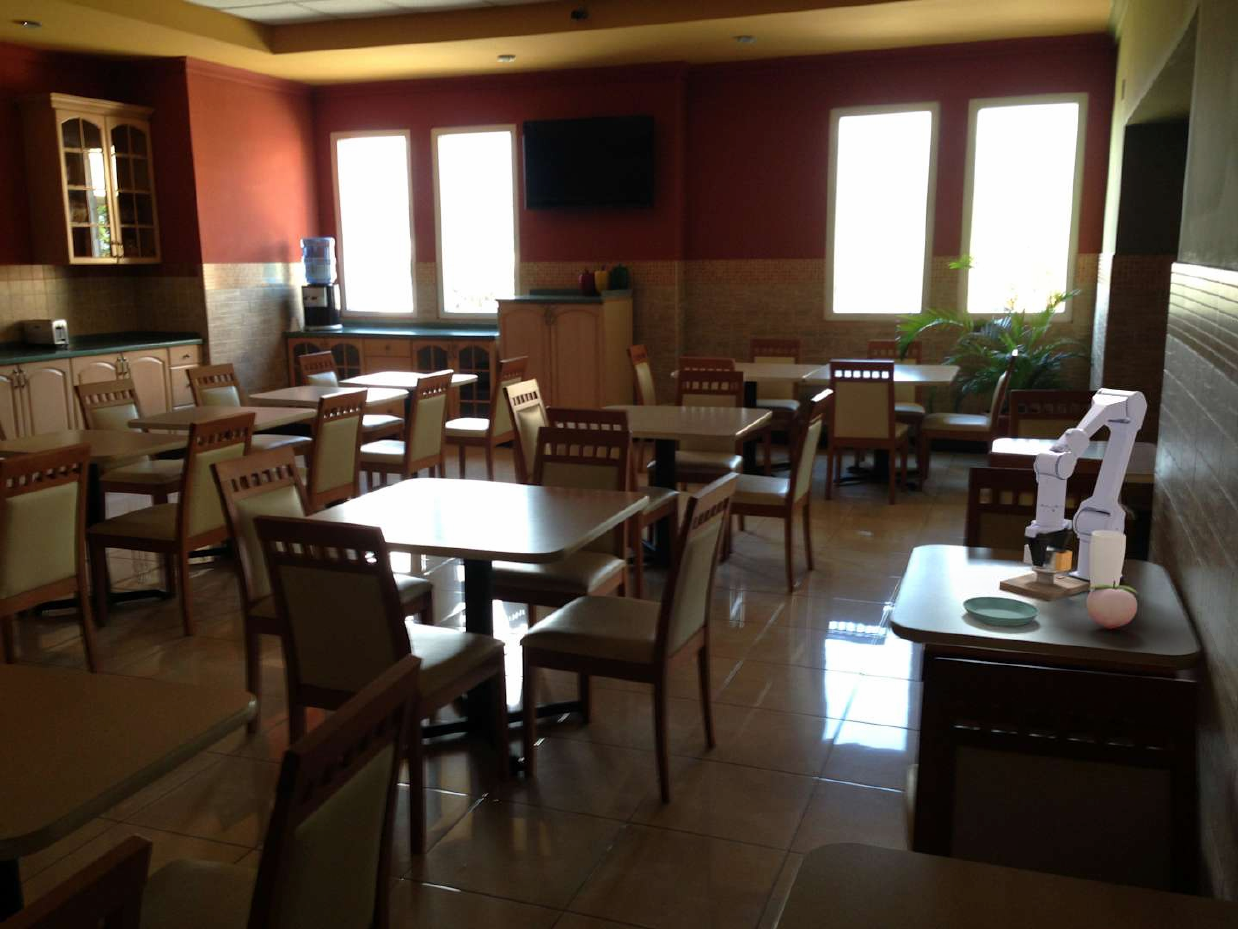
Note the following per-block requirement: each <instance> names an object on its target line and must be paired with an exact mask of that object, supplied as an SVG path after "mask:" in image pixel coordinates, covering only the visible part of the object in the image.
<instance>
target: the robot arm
mask: <svg viewBox="0 0 1238 929" xmlns="http://www.w3.org/2000/svg"><path fill="white" fill-rule="evenodd" d="M1147 407H1148V404H1147V401H1146V397H1145V395H1144V394H1143V392H1141V391H1137V390H1136V391H1129V390H1121V389H1109V388H1104V387H1103V388H1099V389H1098V390H1097V392H1096V393H1095V395H1094V396H1092V398H1091V408H1090V409H1089V410H1088V411H1087V413H1086V414H1085V415H1084V417H1083V418H1082V420H1081V421H1080V422H1079V423H1078V425H1077V426H1076V427H1075V428H1069V429H1066V431H1065V432H1064V433H1063V434H1062V435H1061V436H1060V437H1059V439H1057V441H1056V442H1054V444H1053V445H1052V446H1050V448H1049V449H1048V450H1047V449H1046V450H1043V451H1041V452H1039V453H1038V455H1036V457H1035V461H1034V462H1033V470H1034V472H1035V476H1036V478H1035V480H1036V483H1038V485H1037V488H1038V489H1037V500H1036V511H1035V512H1036V513H1035V514H1036V515H1035V519H1034V520H1032V521H1031V523H1030V524H1031V525H1029V526H1026V527H1025V533H1024V534H1023V536H1024V537H1023V538H1024V540H1025V542H1026V545H1028V546H1029V549H1030V553H1031V558H1032V563H1033V565H1034V566H1038V567H1043V564H1044V560H1045V554H1046V550H1047V547H1048V546H1049V547H1054V548H1058V549H1062V550H1066V547H1067V544H1068V542H1070V539H1071V538H1072V537H1073V531H1074V533H1075V534H1076V535H1077V536H1076V537H1077V538H1078V539H1079V550H1078V560H1077V569H1076V571H1072V572H1069V576H1071V577H1074V578H1079V579H1081V580H1082V579H1083V580H1087V581H1090V545H1091V536H1092V532H1094V531H1100V530H1104V531H1114V532H1119V533H1122V534H1124V530H1125V519H1126V518H1125V517H1126V514H1127V513H1126V512H1125V510H1124V509H1123V508H1122V507H1121V505H1120V504H1119V503H1118V499H1119V495H1120V492H1121V489H1122V486H1123V483H1124V482H1123V481H1124V479H1125V475H1126V471H1127V469H1128V464H1129V461H1130V456H1131V455H1132V450H1133V448H1134V443H1135V441H1136V440H1135V439H1136V436H1137V432H1138V431H1139V430H1142V426H1143V421H1144V419H1145V415H1146V412H1147V409H1148V408H1147ZM1103 426H1107V427H1108V429H1109V430H1110V436H1109V439H1108V443H1107V446H1106V449H1105V453H1104V456H1103V460H1102V463H1101V466H1100V470H1099V473H1098V476H1097V479H1096V484H1095V487H1094V491H1093V494H1092V496H1091V497H1088V498H1087V499H1085V500H1083V501H1081V503H1080V505H1079V508H1078V509H1077V512H1076V513H1075V514H1074V515H1073V520H1072V519H1071V520H1070V519H1066V518H1065V506H1066V493H1067V483H1068V482H1067V481H1068V478H1070V477H1071V476H1072V474H1073V472H1074V470H1075V466H1076V465H1077V462H1078V461H1077V460H1078V459H1079V458H1080V457H1081V455H1082V454H1083V453H1084V452H1085V451H1086V450H1087V449H1088V447H1090V444H1091V443H1090V437H1092V436H1093V435H1094V434H1095V433H1096V432H1097V431H1098V430H1099V429H1101V428H1102V427H1103ZM1108 513H1109V514H1108ZM1072 529H1073V531H1071V530H1072ZM1045 534H1046V536H1047V537H1046V536H1045ZM1122 577H1123V574H1121V576H1120V578H1122Z"/></svg>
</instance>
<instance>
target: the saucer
mask: <svg viewBox="0 0 1238 929" xmlns="http://www.w3.org/2000/svg"><path fill="white" fill-rule="evenodd" d="M962 606H963V608H964V610H966V612H967V613H968V615H969V616H970V617H971V618H972V619H974V620H976V621H978V622H980V623H983V624H987V625H991V626H996V627H1007V626H1013V627H1020V626H1024V625H1027V624H1028V623H1031V621H1033V620H1035V618H1036V617H1037V616H1038V615H1039V613H1040V610H1039V608H1038V607H1037V606H1035V605H1033V604H1031V603H1029V602H1026V601H1023V600H1020V599H1019V600H1018V599H1013V598H1008V597H1000V596H978V597H977V596H975V597H971V598H968V599H965V600H964V601H963V603H962Z"/></svg>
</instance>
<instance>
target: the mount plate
mask: <svg viewBox="0 0 1238 929" xmlns="http://www.w3.org/2000/svg"><path fill="white" fill-rule="evenodd" d="M1089 588H1090V582H1088V581H1084V580H1082V579H1081V580H1080V579H1077V578H1072V577H1068V576H1064V575H1060V574H1041V573H1037V572H1032V573H1027V574H1023V575H1021V576H1016V577H1013V578H1009V579H1005V580H1002V581H999V588H998V589H1001V590H1005V591H1009V592H1012V593H1016V594H1018V595H1023V596H1026V597H1031V598H1033V599H1037V600H1041V601H1045V602H1050V601H1053V600H1054V601H1055V600H1057V599H1061V598H1064V597H1067V596H1071V595H1074V594H1077V593H1081V592H1084V591H1089V590H1088V589H1089Z"/></svg>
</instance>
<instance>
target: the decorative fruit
mask: <svg viewBox="0 0 1238 929" xmlns="http://www.w3.org/2000/svg"><path fill="white" fill-rule="evenodd" d="M1091 589H1093V590H1092V591H1091V592H1090V590H1091ZM1087 591H1089V593H1088V595H1087V598H1086V609H1087V612H1088V614H1089V615H1090V617H1091V618H1092V619H1093V620H1094V621H1095V622H1097V623H1098V624H1099V625H1101V626H1103V627H1105V628H1106V629H1109V630H1112V629H1113V628H1114V629H1115V628H1118V627H1122V626H1125V625H1126V624H1129V623H1130V622H1132V620H1133V618H1134V617H1135V615H1136V613H1137V612H1138V601H1137V598H1136V596H1135V595H1134V594H1136V595H1138V596H1140V594H1139V593H1138V591H1137V590H1135V589H1134V588H1132V587H1131V586H1127V585H1119V586H1115V581H1114V583H1113V587H1112V586H1109V585H1106V584H1097V585H1094V586H1092V587H1090V588H1089V589H1088V590H1087Z"/></svg>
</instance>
